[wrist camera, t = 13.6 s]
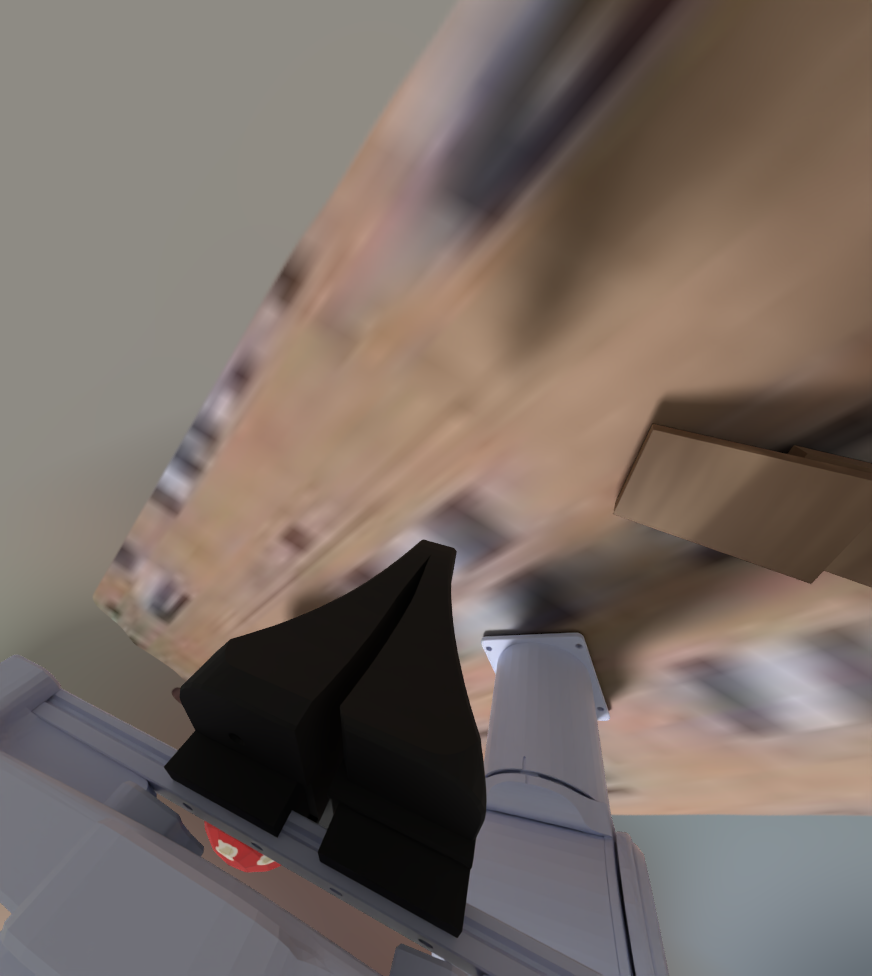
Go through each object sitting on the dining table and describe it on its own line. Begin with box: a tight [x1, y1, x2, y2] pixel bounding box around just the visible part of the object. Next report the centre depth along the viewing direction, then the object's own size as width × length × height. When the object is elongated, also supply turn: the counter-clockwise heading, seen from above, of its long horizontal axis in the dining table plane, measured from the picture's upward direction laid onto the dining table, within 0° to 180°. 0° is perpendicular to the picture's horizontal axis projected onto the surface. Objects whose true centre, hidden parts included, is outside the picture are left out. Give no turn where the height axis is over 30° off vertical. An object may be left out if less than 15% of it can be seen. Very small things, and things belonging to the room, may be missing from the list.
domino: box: [613, 424, 872, 584], centre depth 15 cm, size 2×5×8 cm
